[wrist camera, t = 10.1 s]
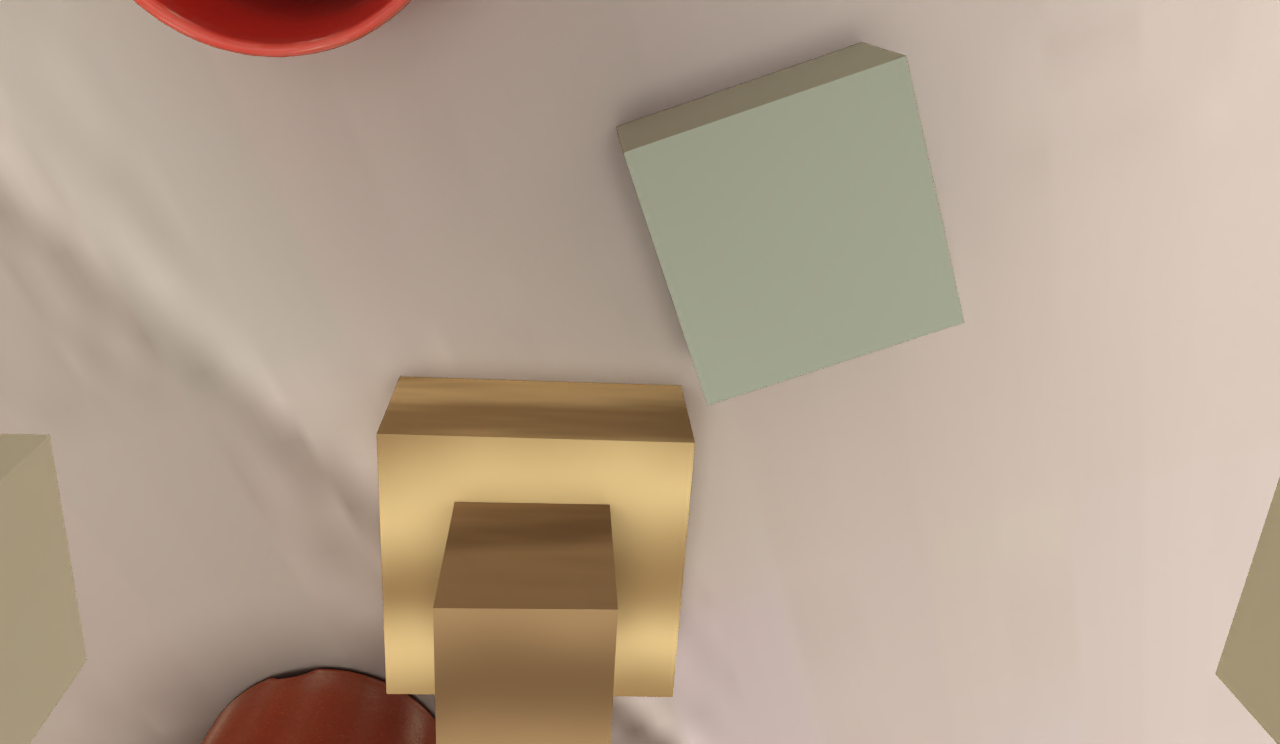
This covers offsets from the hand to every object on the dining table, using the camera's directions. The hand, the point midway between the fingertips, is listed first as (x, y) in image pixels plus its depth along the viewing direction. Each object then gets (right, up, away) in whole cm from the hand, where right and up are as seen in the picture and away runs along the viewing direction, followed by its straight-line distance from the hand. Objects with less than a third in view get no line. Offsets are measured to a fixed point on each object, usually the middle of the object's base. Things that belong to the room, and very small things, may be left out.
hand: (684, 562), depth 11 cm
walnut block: (-5, -6, +30) cm, 31 cm away
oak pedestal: (-5, -4, +36) cm, 36 cm away
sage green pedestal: (+5, +9, +31) cm, 33 cm away
